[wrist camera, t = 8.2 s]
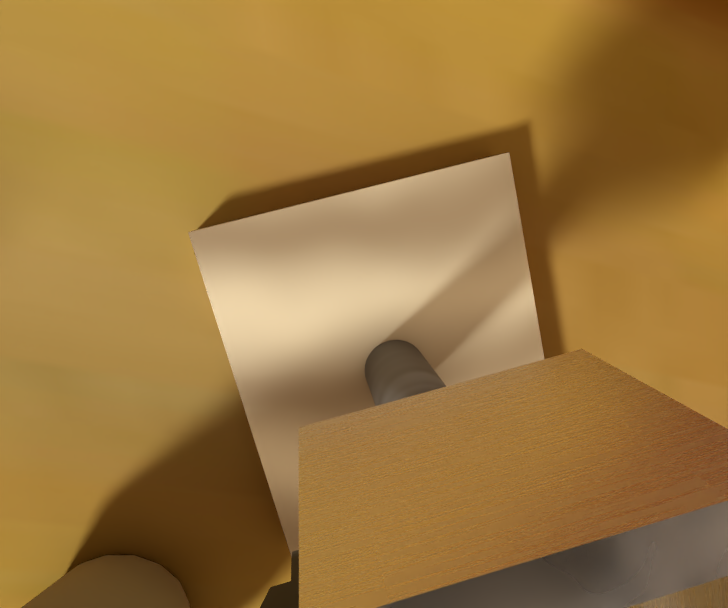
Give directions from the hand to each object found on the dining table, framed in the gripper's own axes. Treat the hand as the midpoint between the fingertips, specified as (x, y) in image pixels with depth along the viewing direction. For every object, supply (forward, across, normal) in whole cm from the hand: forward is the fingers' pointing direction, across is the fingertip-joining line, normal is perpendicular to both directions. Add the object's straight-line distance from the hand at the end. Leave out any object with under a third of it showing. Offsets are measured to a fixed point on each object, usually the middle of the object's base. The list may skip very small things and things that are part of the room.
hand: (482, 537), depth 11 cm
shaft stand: (+12, 0, 0) cm, 12 cm away
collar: (+1, 0, 0) cm, 1 cm away
